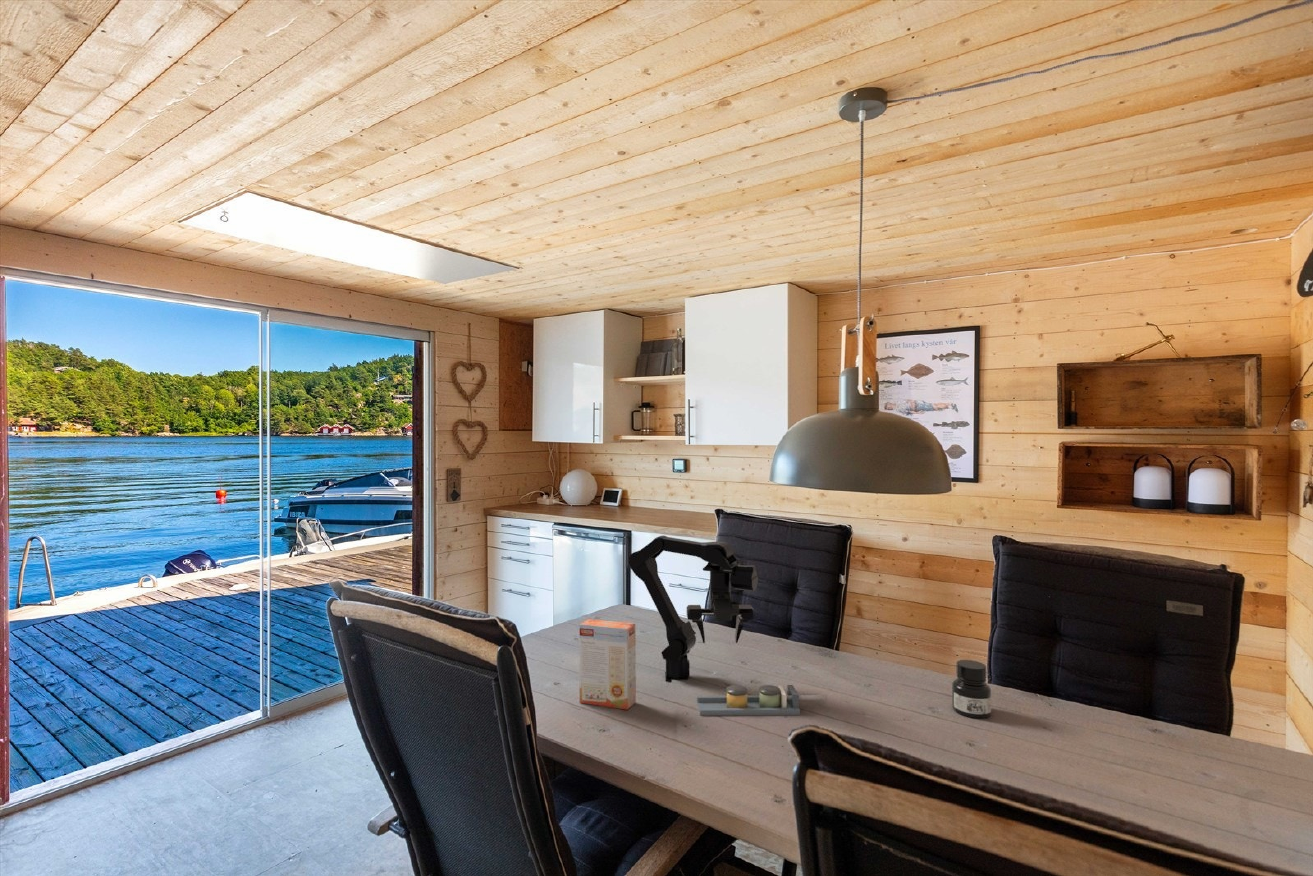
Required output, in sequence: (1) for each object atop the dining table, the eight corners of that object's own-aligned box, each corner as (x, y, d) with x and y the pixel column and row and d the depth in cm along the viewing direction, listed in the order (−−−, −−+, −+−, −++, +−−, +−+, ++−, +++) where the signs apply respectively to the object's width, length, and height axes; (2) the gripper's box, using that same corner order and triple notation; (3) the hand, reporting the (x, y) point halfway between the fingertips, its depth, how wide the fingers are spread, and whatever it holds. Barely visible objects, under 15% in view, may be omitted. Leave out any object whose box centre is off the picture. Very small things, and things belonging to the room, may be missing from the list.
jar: (727, 712, 156) (727, 693, 156) (725, 703, 161) (725, 685, 161) (749, 711, 156) (749, 693, 156) (745, 702, 161) (745, 685, 161)
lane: (700, 717, 154) (700, 697, 154) (697, 702, 163) (697, 683, 163) (799, 716, 154) (799, 696, 154) (791, 702, 163) (791, 683, 163)
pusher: (782, 710, 156) (782, 694, 156) (777, 701, 162) (777, 685, 162) (829, 710, 156) (829, 694, 156) (823, 700, 162) (823, 685, 162)
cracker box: (636, 702, 163) (636, 622, 163) (627, 711, 158) (627, 629, 158) (589, 694, 168) (589, 617, 168) (578, 703, 163) (578, 623, 163)
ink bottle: (952, 715, 155) (952, 667, 155) (948, 702, 163) (948, 656, 164) (995, 721, 152) (995, 672, 152) (990, 707, 160) (989, 661, 160)
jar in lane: (761, 711, 156) (761, 693, 156) (757, 702, 161) (757, 685, 161) (782, 711, 156) (782, 693, 156) (777, 702, 161) (777, 685, 161)
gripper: (689, 594, 166) (689, 652, 166) (758, 594, 167) (758, 652, 167) (686, 584, 177) (686, 639, 177) (751, 584, 178) (751, 639, 178)
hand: (720, 642), depth 174 cm, fingers open, 9 cm apart
